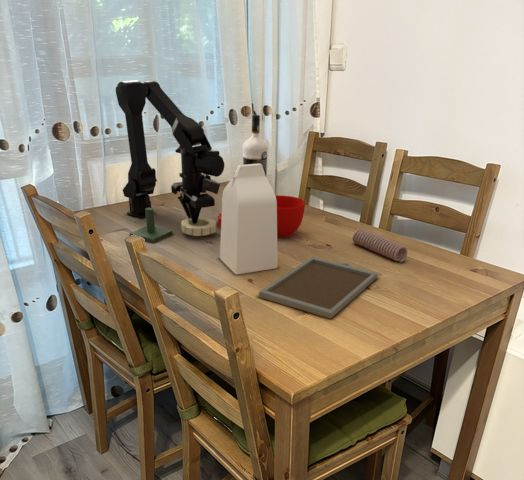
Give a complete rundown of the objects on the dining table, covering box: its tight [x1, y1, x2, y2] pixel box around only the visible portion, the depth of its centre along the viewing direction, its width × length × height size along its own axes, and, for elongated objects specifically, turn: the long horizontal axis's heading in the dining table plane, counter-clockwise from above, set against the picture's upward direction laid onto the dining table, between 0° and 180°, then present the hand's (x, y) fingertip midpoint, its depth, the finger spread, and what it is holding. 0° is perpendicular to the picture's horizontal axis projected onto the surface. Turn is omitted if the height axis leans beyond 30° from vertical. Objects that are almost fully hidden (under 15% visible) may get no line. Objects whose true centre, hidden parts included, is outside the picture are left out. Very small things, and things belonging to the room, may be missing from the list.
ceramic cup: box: [275, 195, 306, 238], centre depth 170 cm, size 13×17×10 cm
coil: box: [352, 228, 408, 263], centre depth 159 cm, size 5×5×18 cm
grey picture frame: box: [258, 256, 378, 320], centre depth 139 cm, size 19×2×30 cm
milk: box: [219, 164, 279, 275], centre depth 144 cm, size 12×12×26 cm
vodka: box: [242, 114, 269, 177], centre depth 185 cm, size 9×9×30 cm
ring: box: [180, 216, 217, 237], centre depth 167 cm, size 10×10×2 cm
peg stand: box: [129, 207, 173, 244], centre depth 164 cm, size 9×9×8 cm
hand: (193, 222), depth 170 cm, fingers closed on ring, 2 cm apart
